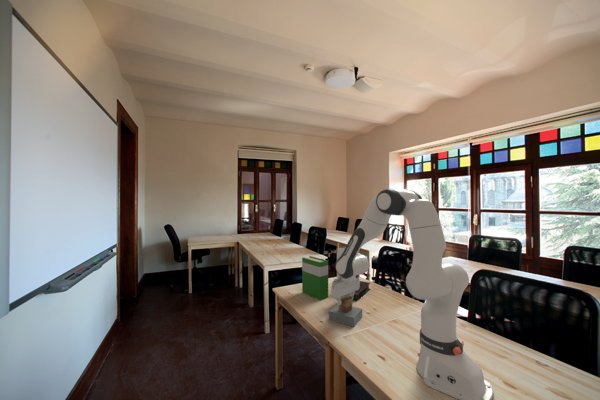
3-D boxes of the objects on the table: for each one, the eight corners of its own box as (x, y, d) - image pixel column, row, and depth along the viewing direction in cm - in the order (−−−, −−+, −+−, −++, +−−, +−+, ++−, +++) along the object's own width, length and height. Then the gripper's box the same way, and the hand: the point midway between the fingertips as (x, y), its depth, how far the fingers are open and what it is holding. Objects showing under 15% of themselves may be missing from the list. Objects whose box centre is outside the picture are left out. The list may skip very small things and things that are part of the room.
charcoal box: (362, 318, 129) (362, 308, 129) (354, 328, 119) (354, 318, 119) (338, 311, 136) (338, 302, 136) (328, 320, 126) (328, 311, 127)
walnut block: (352, 309, 128) (352, 298, 128) (346, 312, 124) (346, 301, 124) (344, 306, 131) (344, 295, 131) (338, 309, 128) (338, 298, 128)
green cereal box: (302, 292, 165) (302, 257, 165) (310, 289, 169) (310, 256, 169) (320, 300, 151) (319, 262, 151) (328, 297, 155) (328, 260, 156)
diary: (331, 296, 160) (331, 288, 160) (347, 285, 180) (347, 278, 180) (358, 302, 149) (358, 294, 149) (371, 290, 169) (371, 282, 170)
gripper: (337, 281, 119) (337, 309, 119) (361, 273, 132) (361, 298, 132) (327, 278, 123) (327, 305, 123) (352, 271, 137) (352, 295, 137)
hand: (345, 301), depth 128 cm, fingers open, 8 cm apart
